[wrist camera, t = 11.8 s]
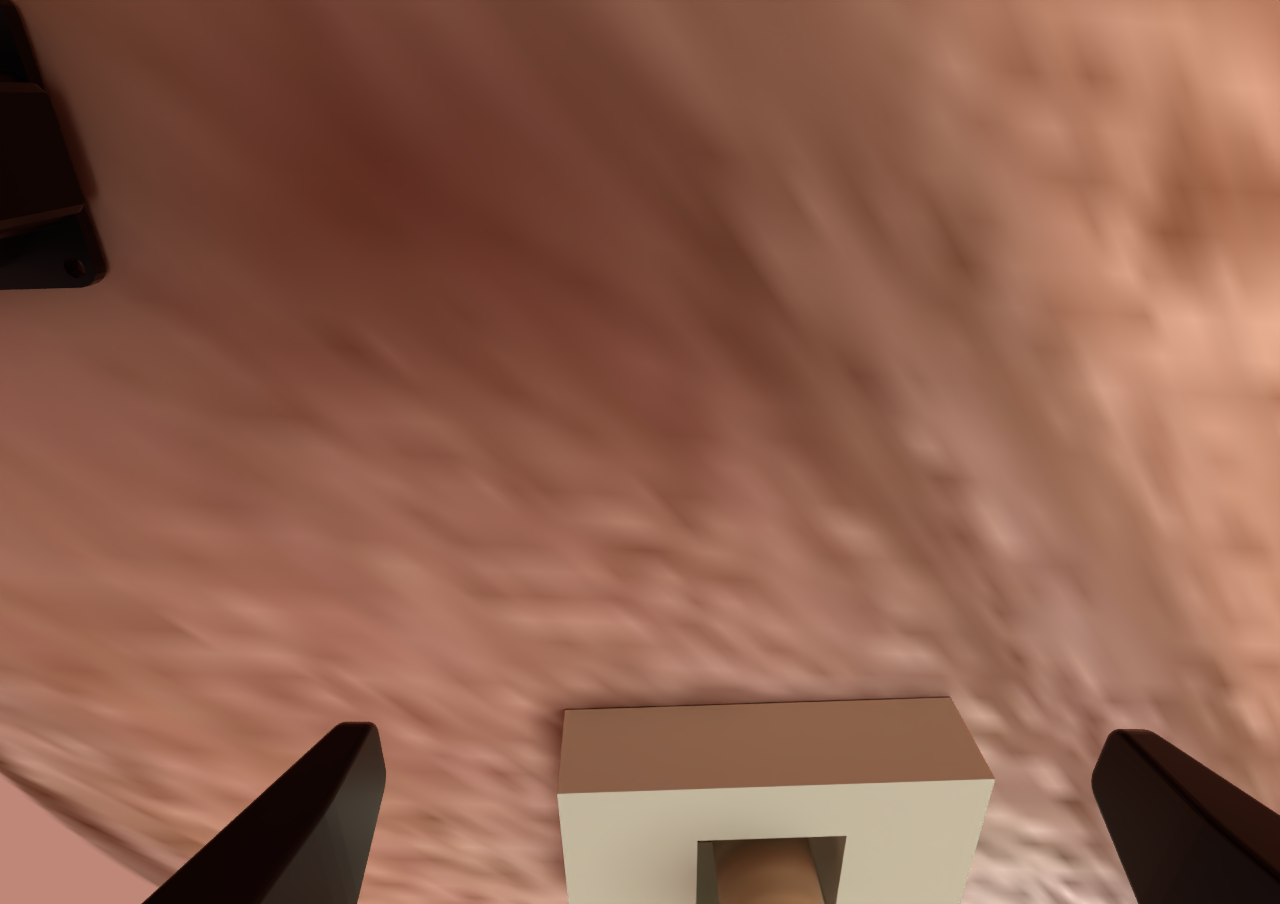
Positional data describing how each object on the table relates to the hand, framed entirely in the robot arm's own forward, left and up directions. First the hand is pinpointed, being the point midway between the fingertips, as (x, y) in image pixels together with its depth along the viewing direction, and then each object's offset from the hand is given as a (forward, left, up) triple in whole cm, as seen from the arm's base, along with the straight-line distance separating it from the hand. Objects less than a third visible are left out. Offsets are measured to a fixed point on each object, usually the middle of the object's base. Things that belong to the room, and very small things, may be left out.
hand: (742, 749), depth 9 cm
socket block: (+3, -18, -13) cm, 22 cm away
